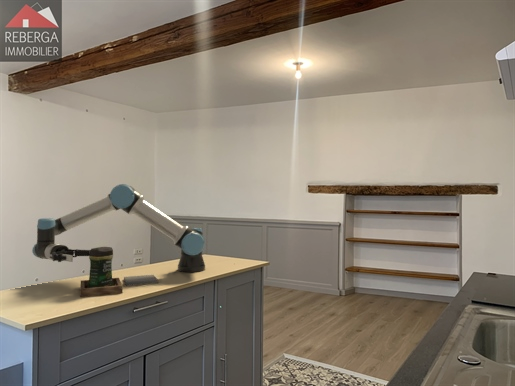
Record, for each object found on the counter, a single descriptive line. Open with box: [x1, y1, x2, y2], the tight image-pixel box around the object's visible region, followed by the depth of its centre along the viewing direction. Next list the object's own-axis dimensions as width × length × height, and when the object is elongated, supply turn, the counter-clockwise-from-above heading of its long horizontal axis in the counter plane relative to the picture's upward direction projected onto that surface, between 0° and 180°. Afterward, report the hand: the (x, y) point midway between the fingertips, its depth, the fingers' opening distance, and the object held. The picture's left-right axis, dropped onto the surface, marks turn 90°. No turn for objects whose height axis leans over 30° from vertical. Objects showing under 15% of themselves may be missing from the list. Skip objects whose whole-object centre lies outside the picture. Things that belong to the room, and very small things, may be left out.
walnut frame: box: [79, 277, 123, 298], centre depth 164 cm, size 16×18×3 cm
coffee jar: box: [87, 246, 114, 288], centre depth 164 cm, size 10×8×19 cm
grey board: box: [123, 274, 159, 286], centre depth 182 cm, size 14×13×2 cm
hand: (86, 256), depth 169 cm, fingers open, 13 cm apart
